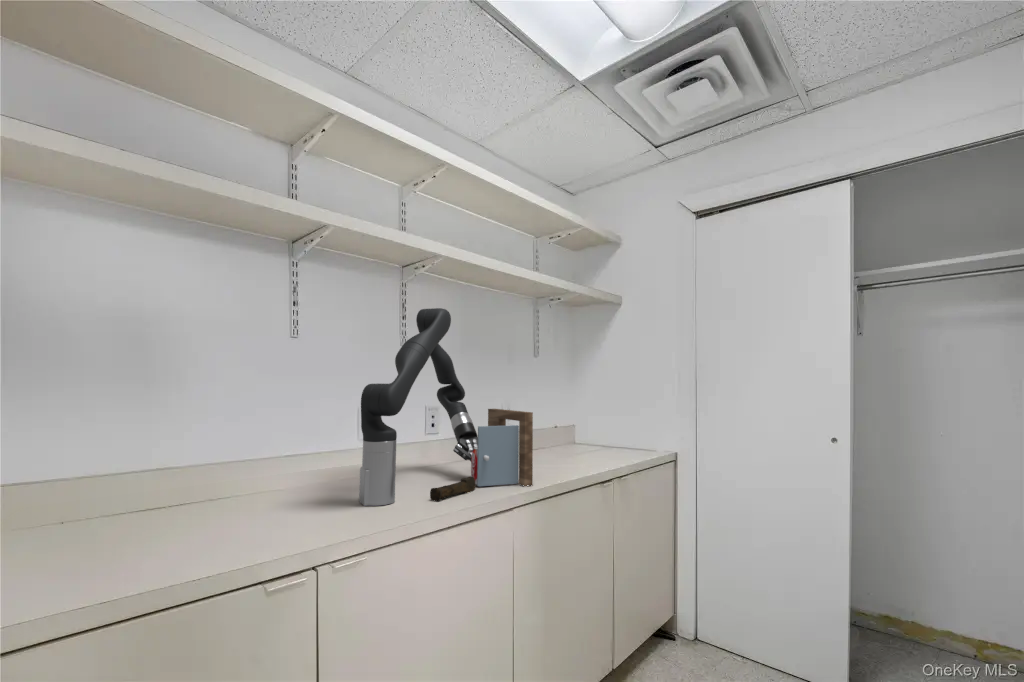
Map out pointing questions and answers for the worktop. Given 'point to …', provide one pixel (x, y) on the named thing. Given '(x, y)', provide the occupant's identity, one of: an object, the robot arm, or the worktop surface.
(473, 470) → the soda can
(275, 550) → the worktop surface
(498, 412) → the door frame
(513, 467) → the door
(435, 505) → the worktop surface
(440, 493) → the wooden log
